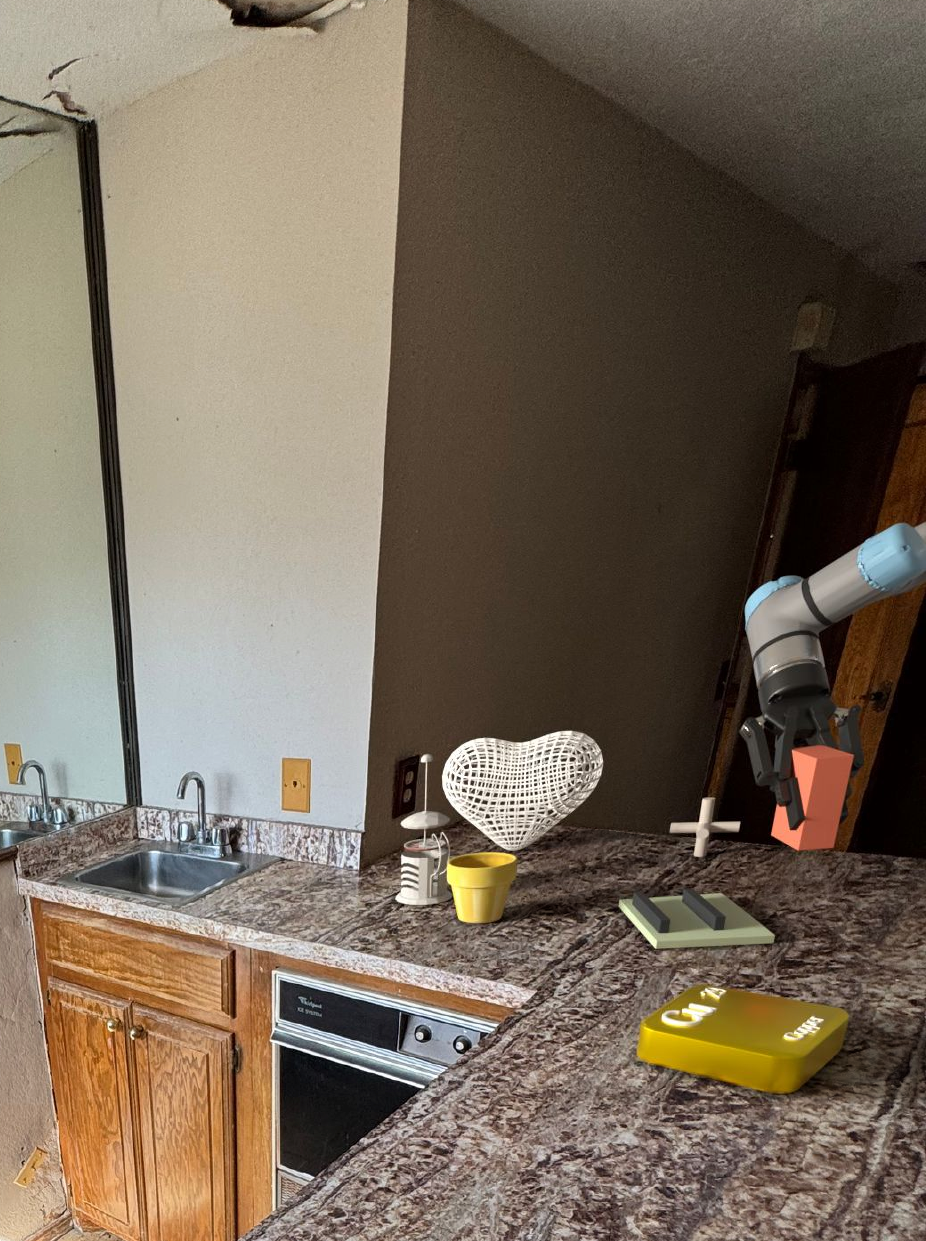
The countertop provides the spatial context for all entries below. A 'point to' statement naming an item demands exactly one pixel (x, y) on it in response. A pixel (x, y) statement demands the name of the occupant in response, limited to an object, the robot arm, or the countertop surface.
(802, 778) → the salmon orange rectangular block
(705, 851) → the pipe connector
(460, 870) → the flower pot
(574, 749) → the heart
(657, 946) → the base pad
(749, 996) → the element tile
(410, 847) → the french press
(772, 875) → the countertop surface
